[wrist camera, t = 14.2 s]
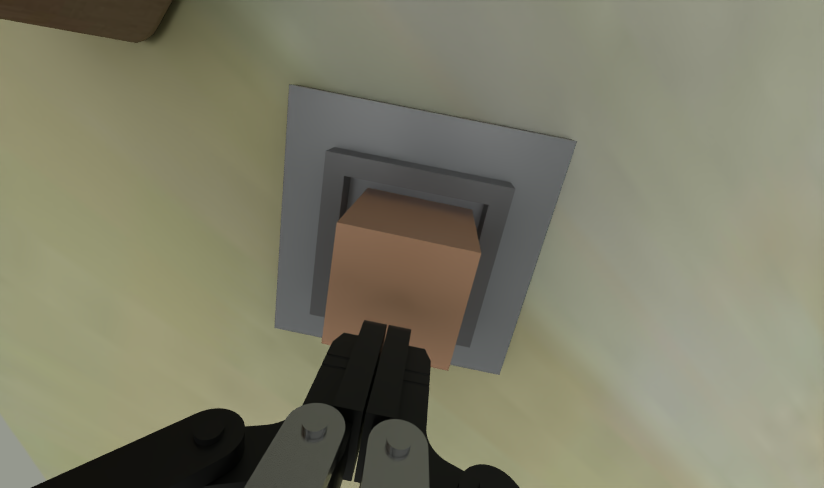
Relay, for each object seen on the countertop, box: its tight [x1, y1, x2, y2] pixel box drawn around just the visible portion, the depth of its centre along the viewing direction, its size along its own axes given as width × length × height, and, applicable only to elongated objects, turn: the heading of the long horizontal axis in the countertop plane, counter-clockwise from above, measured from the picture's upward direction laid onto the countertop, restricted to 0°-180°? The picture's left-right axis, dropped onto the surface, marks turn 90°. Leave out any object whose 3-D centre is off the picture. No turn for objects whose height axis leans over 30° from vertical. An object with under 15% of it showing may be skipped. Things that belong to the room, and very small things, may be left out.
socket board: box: [275, 84, 577, 375], centre depth 21 cm, size 14×14×2 cm
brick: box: [322, 188, 481, 371], centre depth 18 cm, size 6×6×6 cm
